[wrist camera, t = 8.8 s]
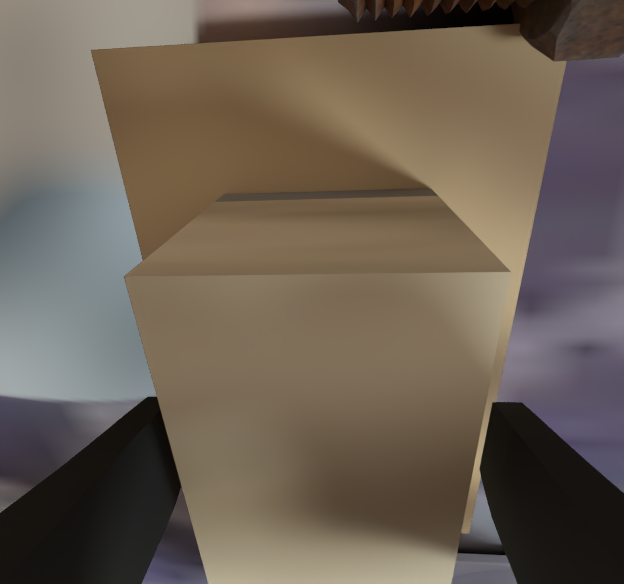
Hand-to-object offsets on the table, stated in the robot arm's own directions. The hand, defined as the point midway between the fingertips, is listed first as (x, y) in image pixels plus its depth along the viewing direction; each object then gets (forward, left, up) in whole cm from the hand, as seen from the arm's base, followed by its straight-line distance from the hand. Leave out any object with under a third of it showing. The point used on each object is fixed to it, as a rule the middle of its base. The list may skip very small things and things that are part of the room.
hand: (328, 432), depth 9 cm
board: (0, 0, -4) cm, 4 cm away
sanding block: (0, 0, -3) cm, 3 cm away
